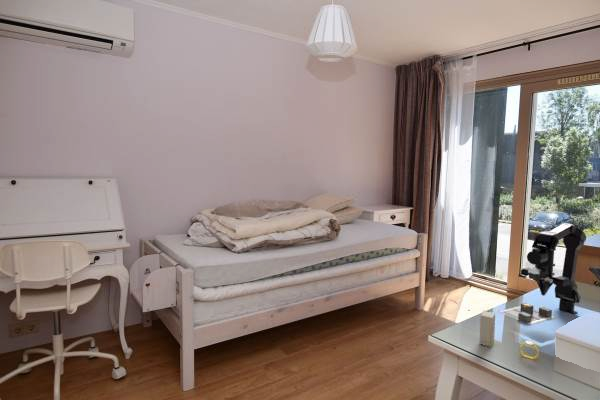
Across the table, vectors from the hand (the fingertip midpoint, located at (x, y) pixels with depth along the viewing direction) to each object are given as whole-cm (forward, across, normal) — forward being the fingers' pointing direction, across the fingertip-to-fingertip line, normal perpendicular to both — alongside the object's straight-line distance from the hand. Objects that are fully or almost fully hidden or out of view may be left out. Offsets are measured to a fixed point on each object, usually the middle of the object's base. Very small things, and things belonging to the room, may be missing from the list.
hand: (543, 295), depth 164 cm
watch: (+13, +17, -33) cm, 39 cm away
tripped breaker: (+12, -7, 0) cm, 14 cm away
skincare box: (+13, +3, -38) cm, 40 cm away
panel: (+13, -7, 0) cm, 15 cm away
